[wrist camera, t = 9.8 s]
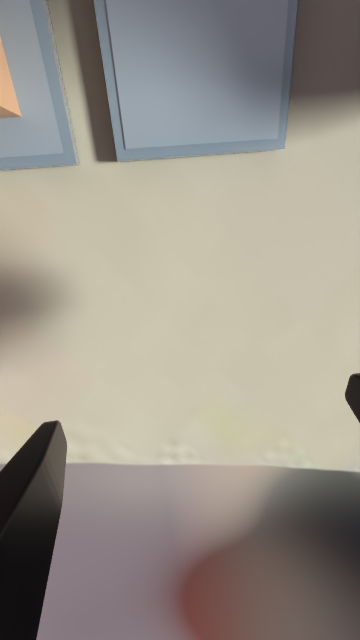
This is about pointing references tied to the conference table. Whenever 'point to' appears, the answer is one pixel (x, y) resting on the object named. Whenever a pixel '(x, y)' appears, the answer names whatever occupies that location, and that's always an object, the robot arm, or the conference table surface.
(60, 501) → the robot arm
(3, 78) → the block
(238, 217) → the conference table surface
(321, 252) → the conference table surface
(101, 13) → the dish
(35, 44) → the dish
